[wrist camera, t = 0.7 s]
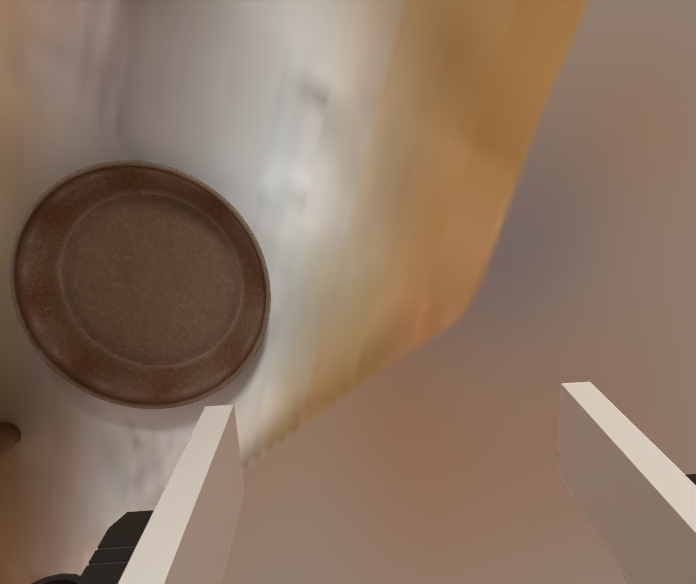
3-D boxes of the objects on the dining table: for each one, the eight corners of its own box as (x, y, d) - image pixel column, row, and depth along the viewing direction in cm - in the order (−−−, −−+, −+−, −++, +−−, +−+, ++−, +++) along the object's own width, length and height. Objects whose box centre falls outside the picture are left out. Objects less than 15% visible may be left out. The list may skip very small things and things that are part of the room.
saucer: (235, 419, 38) (228, 440, 35) (11, 350, 36) (-14, 367, 34) (306, 208, 34) (304, 214, 32) (61, 122, 33) (37, 121, 30)
